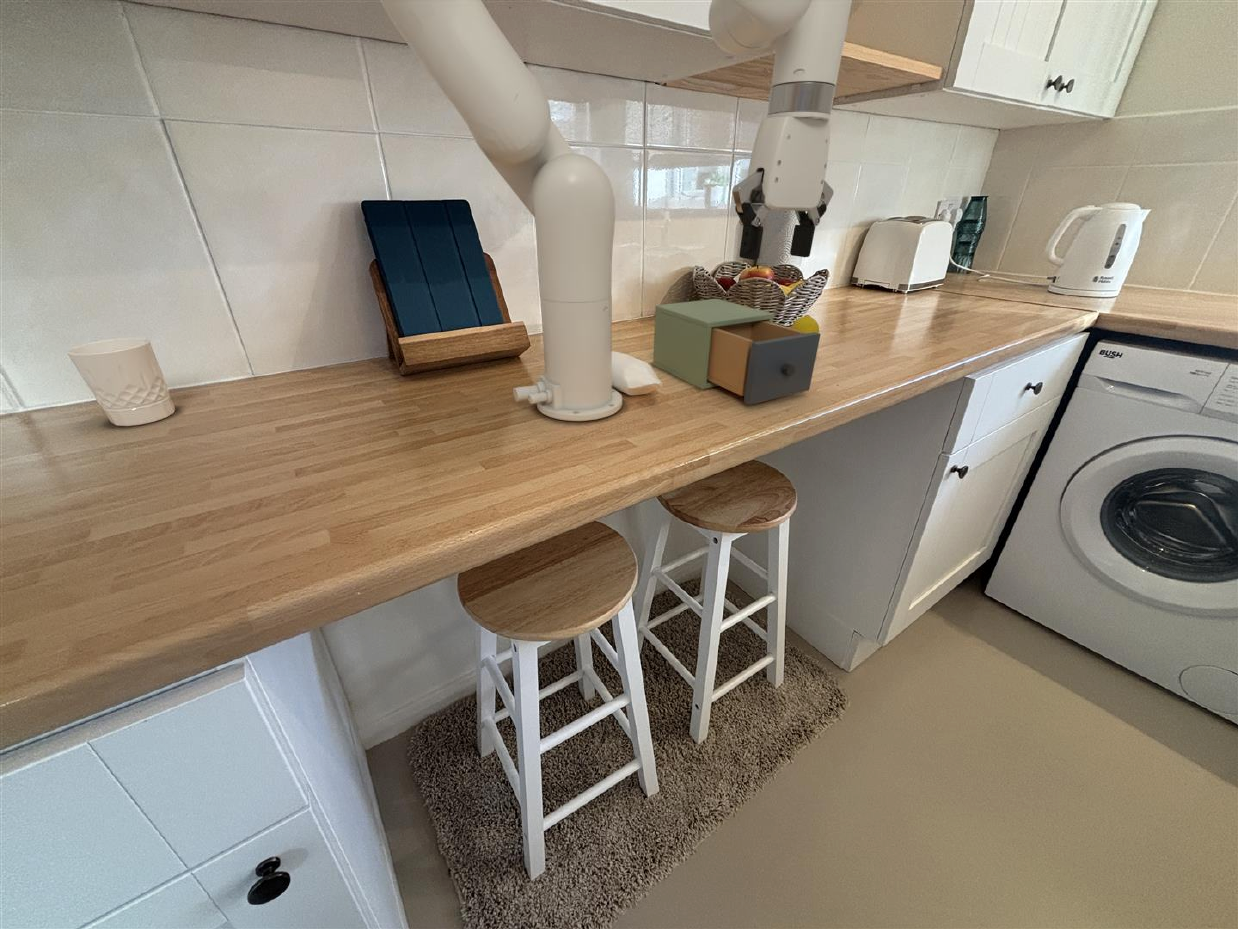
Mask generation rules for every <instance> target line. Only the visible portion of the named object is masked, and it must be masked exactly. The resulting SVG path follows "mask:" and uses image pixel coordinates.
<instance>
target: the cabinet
mask: <svg viewBox="0 0 1238 929" xmlns="http://www.w3.org/2000/svg"><path fill="white" fill-rule="evenodd" d="M654 310H655V311H654V333H653V335H654V336H653V357H652V358H653V359H652V365H653V366H655V367H657V368H659V369H661V370H663V371H664V372H667V373H668V374H670V375H673V376H674V377H677V378H679V379H680V380H682V381H685V382H687V383H689V384H690V385H692V386H693V387H694V386H695V387H696V388H698V389H701V390H705V389H710V388H715V387H719V385H717V384H715V383H713V382H711V381H708V380H707V370H708V360H709V349H710V339H711V329H712V328H711V327H718V326H725V325H732V324H739V323H746V322H753V321H760V320H764V321H767V322H771V323H774V317H775V313H772V312H768V311H765V310H761V309H757V308H754V307H750V306H747V305H742V304H739V303H735V302H731V301H727V300H724V299H720V298H711V299H709V298H708V299H701V300H693V301H684V302H675V303H667V304H658V305H657V304H656V305H655V308H654Z"/></svg>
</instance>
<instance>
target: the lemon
mask: <svg viewBox="0 0 1238 929" xmlns="http://www.w3.org/2000/svg"><path fill="white" fill-rule="evenodd" d="M790 328H792V329H795V330H799V331H802V332H804V334H806V333H812V332H816V333H819V334H820V326H819V323H818V321H816V319H815V318H813V317H811V315H809V314H805V315H804V316H801V317H799V318H797V319H795V320H794V321H793V322H792V324H791V326H790Z"/></svg>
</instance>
